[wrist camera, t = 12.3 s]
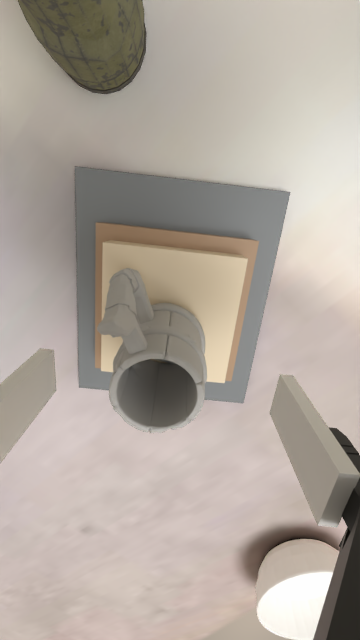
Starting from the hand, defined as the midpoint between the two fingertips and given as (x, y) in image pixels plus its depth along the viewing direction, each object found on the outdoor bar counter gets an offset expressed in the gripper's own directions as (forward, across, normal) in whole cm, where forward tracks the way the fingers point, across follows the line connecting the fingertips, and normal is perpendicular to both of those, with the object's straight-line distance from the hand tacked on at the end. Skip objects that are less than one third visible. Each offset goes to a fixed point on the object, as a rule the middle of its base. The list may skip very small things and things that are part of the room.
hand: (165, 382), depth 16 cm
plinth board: (+19, -1, 0) cm, 19 cm away
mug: (+11, -2, 0) cm, 12 cm away
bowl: (+19, +27, -46) cm, 56 cm away
